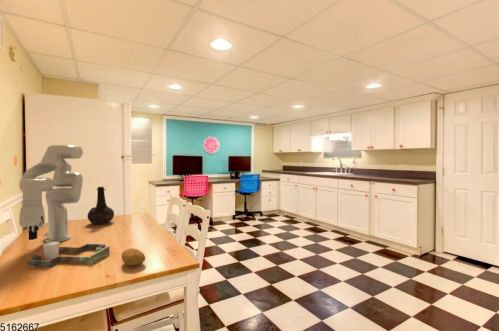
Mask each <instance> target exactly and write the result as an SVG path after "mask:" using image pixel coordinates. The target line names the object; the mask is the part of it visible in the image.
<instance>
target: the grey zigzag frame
mask: <svg viewBox="0 0 499 331" xmlns="http://www.w3.org/2000/svg"><path fill="white" fill-rule="evenodd" d="M89 250H90V251H95V252H94V253H92V254H91V255H90V256H81V255H80V256H79V255H78V256H77V255H75V256H74V255H58V257H55V258H52V259H45V260H44V259H43V255H42V254H31V255H30V259H28V260H27V267H28V266H34V267H33V268H46V267H48V268H49V267H50V268H52V267H53V266H55V265H58V264H60V263H64V264H89V265H91V264H93V265H94V264H95V263H97V262H98V261H101V260H102V259H104V258H105V257H108V256H109V255H110V254H111V253H110V246H108V245H107V246H106V244H105V243H85V244H84V245H81V246H79V247H78V246H59V254H82V253H83V252H86V251H89ZM50 268H49V269H50Z"/></svg>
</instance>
